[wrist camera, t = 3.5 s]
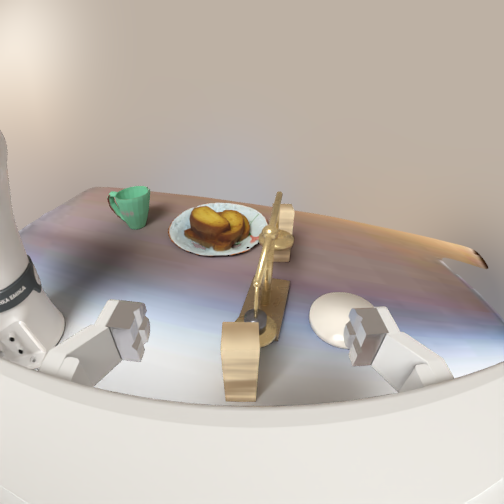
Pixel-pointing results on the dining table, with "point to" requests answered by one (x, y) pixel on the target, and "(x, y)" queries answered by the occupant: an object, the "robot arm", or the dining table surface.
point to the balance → (268, 282)
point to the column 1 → (240, 360)
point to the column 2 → (286, 225)
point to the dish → (334, 316)
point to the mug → (131, 205)
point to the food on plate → (217, 228)
